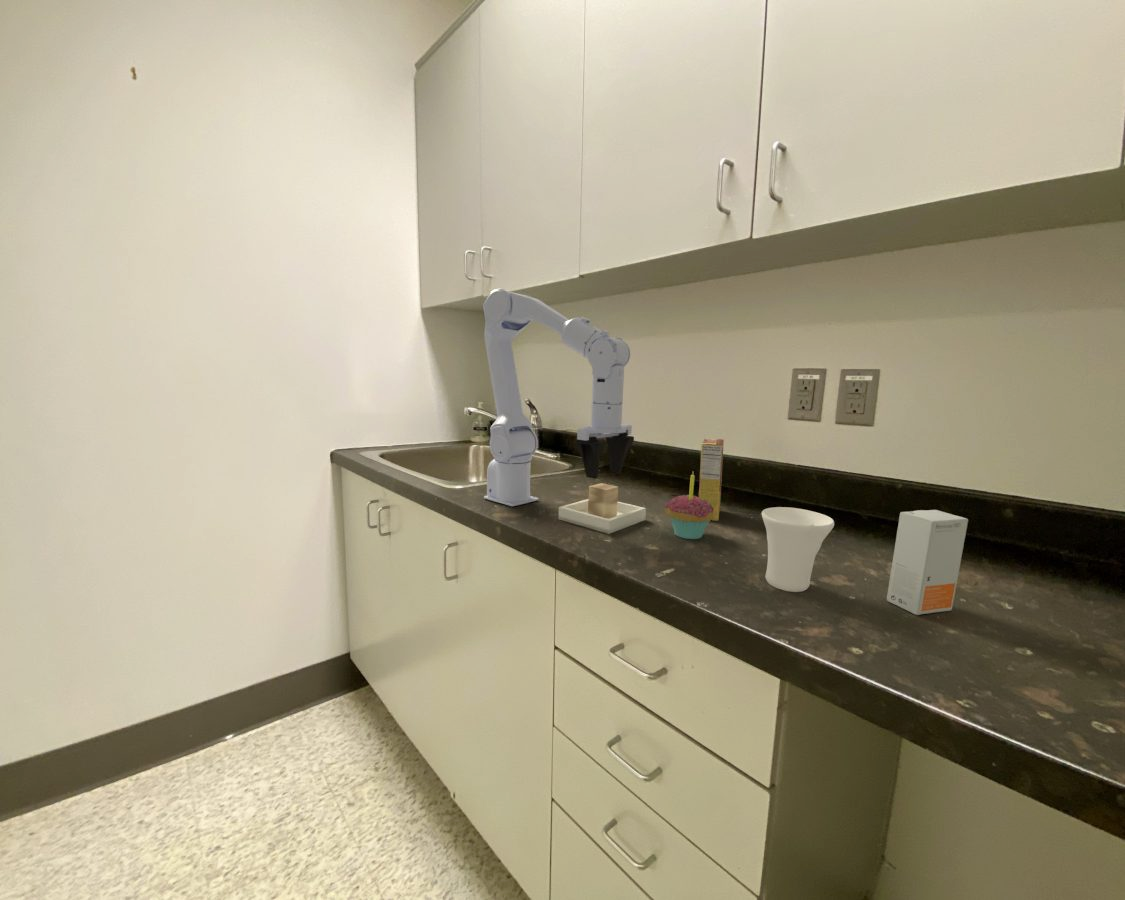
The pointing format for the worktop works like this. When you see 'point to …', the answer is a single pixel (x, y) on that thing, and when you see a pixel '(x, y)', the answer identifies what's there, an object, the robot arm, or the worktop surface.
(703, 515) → the cupcake
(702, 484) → the candy box
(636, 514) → the tray
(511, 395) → the robot arm
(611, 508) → the wooden block
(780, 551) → the cup
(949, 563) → the skincare box
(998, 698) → the worktop surface
